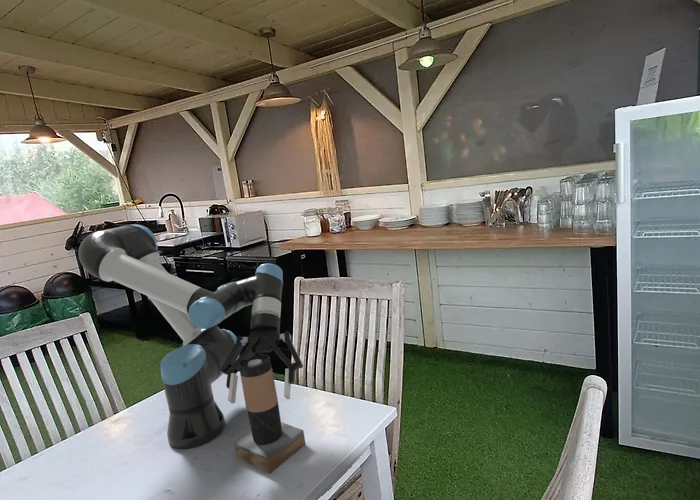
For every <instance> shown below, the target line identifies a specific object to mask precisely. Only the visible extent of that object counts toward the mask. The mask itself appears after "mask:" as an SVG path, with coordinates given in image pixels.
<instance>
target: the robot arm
mask: <svg viewBox="0 0 700 500" xmlns="http://www.w3.org/2000/svg"><path fill="white" fill-rule="evenodd" d="M157 243H158V240H157V238H156V236H155V233H153V231H151V230H150V229H149V228H148V227H147V226H144V225H141V224H124V225H121V226H119V227H113V228H108V229H104V230H97V231H94V232H92V233H90V234H88V235H87V236H86V237H85V238H84V239H83V240H82V241H81V242H80V245H79V247H78V254H77V255H78V260H79V262H80V265H81V266H82V267H83V268H84V270H85V271H86V272H87V273H89V274H90V275H92V276H93V277H95V278H97V279H99V280H101V281H104V282H109V283H110V282H116V283H118V284H120V285H122V286H125V287H126V288H129V289H132V290H133V291H136V292H138V293H140V294H143V295H145V296H146V297H147V298H148V299H149V301H151V302H152V304H153V305H154V306H155V307H156V308H157V311H159V313H161V315H162V316H163V318H164V319H165V320H166V321H167V323H169V324H170V326H171V328H172V329H173V330H174V331H175V332H176V333H177V335H178V336H179V337H180V339H181V340H182V341H183V342H182V346H180V347H179V348H174V349H173V350H171V351H169V352H168V353H167V354H166V355H165V356H164V357H163V358H162V360H161V361H160V378H161V380H162V384H163V390H164V394H165V398H166V401H167V406H168V410H169V417H168V425H167V432H166V433H167V435H166V437H167V440H168V444H169V445H170V446H171V447H173V448H176V449H191V448H195V447H199V446H202V445H204V444H207V443H209V442H211V441H212V440H214V439H215V438H217V437H218V436H220V435H221V434H222V432H223V431H224V430H225V428H226V421H225V420H226V419H225V416H224V413H223V411H222V410H221V408H220V407H219V406H218V404H217V402H216V401H215V398H214V394H213V387H212V384H213V383H214V382H216V381H217V380H218V379H219V378H221V377H222V375H226V383H225V386H226V388H227V389H228V396H227V401H229V403H231V404H235V403H236V398H237V389H238V382H239V381H238V380H239V377H238V375H237V373H239V372H240V370H239V362H240V361H241V360H242V359H244V360H247V359H249V358H251V357H252V356H253V355H256V354H265V353H267V354H269V353H271V352H273V351H274V352H275V354H277V356H278V357H279V358H280V359H281V360H282V362H284V364H285V365H286V366H287V367H288V368H285V369H284V371H285V372H284V386H283V388H284V390H283V396H284V398H285V399H286V400H290V399H291V390H292V389H291V387H292V386H291V385H292V384H293V385H294V384H295V381H296V371H297V370H298V369H302V368H303V367H304V365H303V362H302V360H301V358H300V356H299V354H298V352H297V350H296V348H295V346H294V344H293V342H292V339H293V338H292V334H290V331H289V330H285V331H284V333H280V331H281V329H280V327H281V312H282V311H281V310H282V293H283V285H284V280H283V279H284V278H283V276H284V274H283V269H282V268H281V267H280V265H277V264H274V263H267V262H266V263H263V264H260V265H259V266H258V267H257V268H256V270H255V274H254V275H253V276H250V277H247V278H244V279H240V280H237V281H232V282H227V283H225V284H222V285H220V286H219V287H217V289H216V291H211V290H208V289H205V288H202V287H200V286H198V285H196V284H193V283H191V282H190V281H187V280H185V279H182V278H180V277H178V276H176V275H173V274H171V273H169V272H168V271H167V270H166V269H165V267H164V266H163V265H162V263H160V261H159V260H160V256H161V255H160V253H159V251H158V247H159V245H158V244H157ZM250 305H252V308H251V318H250V328H249V335H248V336H242V335H241V334H239V335H237V336H236V334H234V332H232V331H231V330H228V329H225V328H222V329H220V327H219V326H218V325H219V324H221V323H222V322H223V321H224V320H225V319H227V318H228V317H230V316H232V315H234V314H235V313H237V312H238V311H240V310H241V309H243V308H244V307H248V306H250ZM281 340H282V342H284V343H285V344H286V346H287V347H288V350H289V352H290V353H291V356H292V358H293V360H294V362H292V361H291V360H290V359H289V358H288V357H287V356H286V355H285V353H284V352H283V351H282V350H281V348H280V347H279V346H278V345H279V343H280V342H281ZM246 344H248V345H247V346H246ZM244 346H246V348H245V350H244V351H243V348H244ZM242 351H243V352H242ZM241 352H242V353H241Z"/></svg>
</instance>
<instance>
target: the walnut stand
mask: <svg viewBox="0 0 700 500" xmlns="http://www.w3.org/2000/svg"><path fill="white" fill-rule="evenodd" d="M281 427H282V435H281V437H280V438H279V439H278V440H277V441H275V442H273V443H270V444H266V445H260V444H257V443H255V442H254V440H253V436H252V432H251V431H250V432H249V433H247V434H245V435H244V436H242V437H241V438H240V439H238V440H237V441H235V442H234V443H233V445H234V449H235V453H236V458H237V459H238V460H241V461H243V462H245V463H247V464H249V465H251V466H253V467H255V468H257V469H260V470H261V471H263V472H266V473H268V474H272V473H273V471H275V470H276V469H278V468H279V467H280V466H281V465H282V464H283V463H285V462H287V461H288V460H289V459H291V457H292V456H294V455H296V453H297V452H299V451H300V450H301V449H302V448H304V447H305V446H306V437H305V430H304V429H302V428H298V427H295V426H293V425H290V424H288V423H286V422H282V421H281Z"/></svg>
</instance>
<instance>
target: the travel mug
mask: <svg viewBox="0 0 700 500" xmlns="http://www.w3.org/2000/svg"><path fill="white" fill-rule="evenodd" d="M273 371H274V370H273V367H272V360H271V357H270V355H268V354H265V353H259V354H258V353H255V355H253V356H252V357H251V358H249V359H247V360H244V359H242V360H241V361H240V362H239V374H240V379H241V386H242V391H243V397H244V404H245V408H246V413H247V417H248V422H249V423H248V424H249V427H250V432H252V436H253V440H254V442H255V443H257V444H260V445H266V444H270V443H273V442H275V441H277V440H278V439H279V438H280V437H281V435H282V427H281V422H282V421H281V420H282V419H281V413H280V408H279V407H280V405H279V400H278V393H277V388H276V383H275V377H274V372H273Z"/></svg>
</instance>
